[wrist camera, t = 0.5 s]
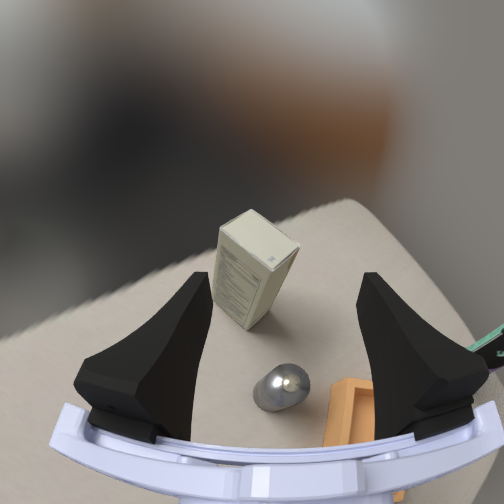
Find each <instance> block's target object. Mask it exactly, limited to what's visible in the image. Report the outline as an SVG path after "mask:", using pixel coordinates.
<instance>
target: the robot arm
mask: <svg viewBox="0 0 504 504" xmlns="http://www.w3.org/2000/svg"><path fill="white" fill-rule="evenodd" d="M356 308H357V315H358V321H359V326H360V329H361V333H362V336H363V340H364V344H365V347H366V351H367V355H368V358H369V362H370V367H371V374H372V382H373V393H374V411H375V430H374V441H370V442H364V443H357V444H349V445H341V446H331V447H318V448H298V449H262V448H241V447H229V446H219V445H210V444H202V443H195V442H190V438H191V421H192V411H193V401H194V393H195V385H196V379H197V372H198V367H199V363H200V359H201V355H202V352H203V348H204V345H205V341H206V338H207V334H208V330H209V327H210V323H211V317H212V310H213V300H212V295H211V289H210V284H209V278H208V272H194V273H193V274H192V275H191V276H190V277H189V279H188V280H187V281H186V282H185V283H184V284H183V286H182V287H181V288H180V289H179V290H178V291H177V292H176V293H175V295H174V296H173V297H172V298H171V299H170V300H169V301H168V302H167V303H166V304H165V305H164V306H163V307H162V308H161V309H160V310H159V311H158V312H157V313H156V314H155V315H154V316H153V317H152V318H151V319H149V320H148V321H147V322H146V323H145V324H143V325H142V326H141V327H140V328H138V329H137V330H136V331H134V332H133V333H131V334H130V335H128V336H127V337H126V338H124V339H123V340H121V341H119V342H118V343H116V344H114V345H113V346H111V347H109V348H107V349H105V350H104V351H102V352H99V353H97V354H95V355H93V356H91V357H89V358H86V359H85V360H84V362H83V364H82V366H81V368H80V370H79V372H78V374H77V376H76V378H75V381H74V384H73V385H74V387H75V389H76V391H77V392H78V393H79V394H80V395H81V396H82V397H83V398H84V399H85V400H86V401H87V402H88V403H89V404H90V405H91V406H92V410H91V412H89V411H87V410H85V409H83V408H81V407H78V406H75V405H73V404H70V403H68V402H65V404H64V407H63V409H62V411H61V414H60V416H59V419H58V421H57V424H56V427H55V429H54V432H53V435H52V437H51V440H50V443H49V447H50V448H52V449H54V450H55V451H57V452H59V453H60V454H62V455H64V456H66V457H68V458H69V459H71V460H73V461H75V462H77V463H79V464H81V465H83V466H85V467H87V468H90V469H92V470H94V471H97V472H99V473H102V474H104V475H106V476H109V477H112V478H114V479H117V480H120V481H122V482H125V483H128V484H131V485H134V486H137V487H140V488H144V489H147V490H150V491H154V492H158V493H161V494H165V495H169V496H173V497H178V498H179V504H394V496H393V493H395V492H399V491H402V490H406V489H409V488H412V487H415V486H418V485H421V484H424V483H427V482H430V481H432V480H435V479H438V478H440V477H443V476H445V475H447V474H450V473H452V472H454V471H457V470H459V469H461V468H463V467H466V466H468V465H470V464H472V463H474V462H476V461H478V460H479V459H481V458H483V457H485V456H486V455H488V454H490V453H492V452H493V451H495V450H496V449H498V448H500V447H501V446H503V445H504V431H503V427H502V424H501V420H500V417H499V414H498V411H497V407H496V404H495V401H494V400H492V401H489V402H487V403H485V404H482V405H480V406H478V407H476V408H474V409H472V406H471V404H473V403H474V399H473V396H472V395H473V394H474V393H475V392H476V391H477V390H478V389H479V388H480V387H481V386H482V385H483V384H484V383H485V382H486V380H487V379H488V377H489V370H488V368H487V365H486V363H485V361H484V358H483V357H482V356H480V355H478V354H476V353H474V352H472V351H470V350H467V349H466V348H464V347H462V346H460V345H459V344H457V343H455V342H454V341H452V340H450V339H449V338H447V337H446V336H444V335H443V334H442V333H440V332H439V331H437V330H436V329H435V328H433V327H432V326H431V325H430V324H428V323H427V322H426V321H425V320H424V319H422V318H421V317H420V316H419V315H418V314H417V313H416V312H415V311H414V310H413V309H412V308H410V307H409V306H408V305H407V304H406V303H405V302H404V301H403V300H402V299H401V297H400V296H399V295H398V294H397V293H396V292H395V291H394V290H393V289H392V288H391V287H390V286H389V285H388V284H387V283H386V282H385V281H384V280H383V278H382V277H381V276H380V275H379V274H378V273H377V272H366V273H364V276H363V280H362V284H361V288H360V292H359V296H358V299H357V303H356ZM215 463H216V464H215ZM217 464H226V465H237V466H244V467H219V466H218V465H217Z"/></svg>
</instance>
